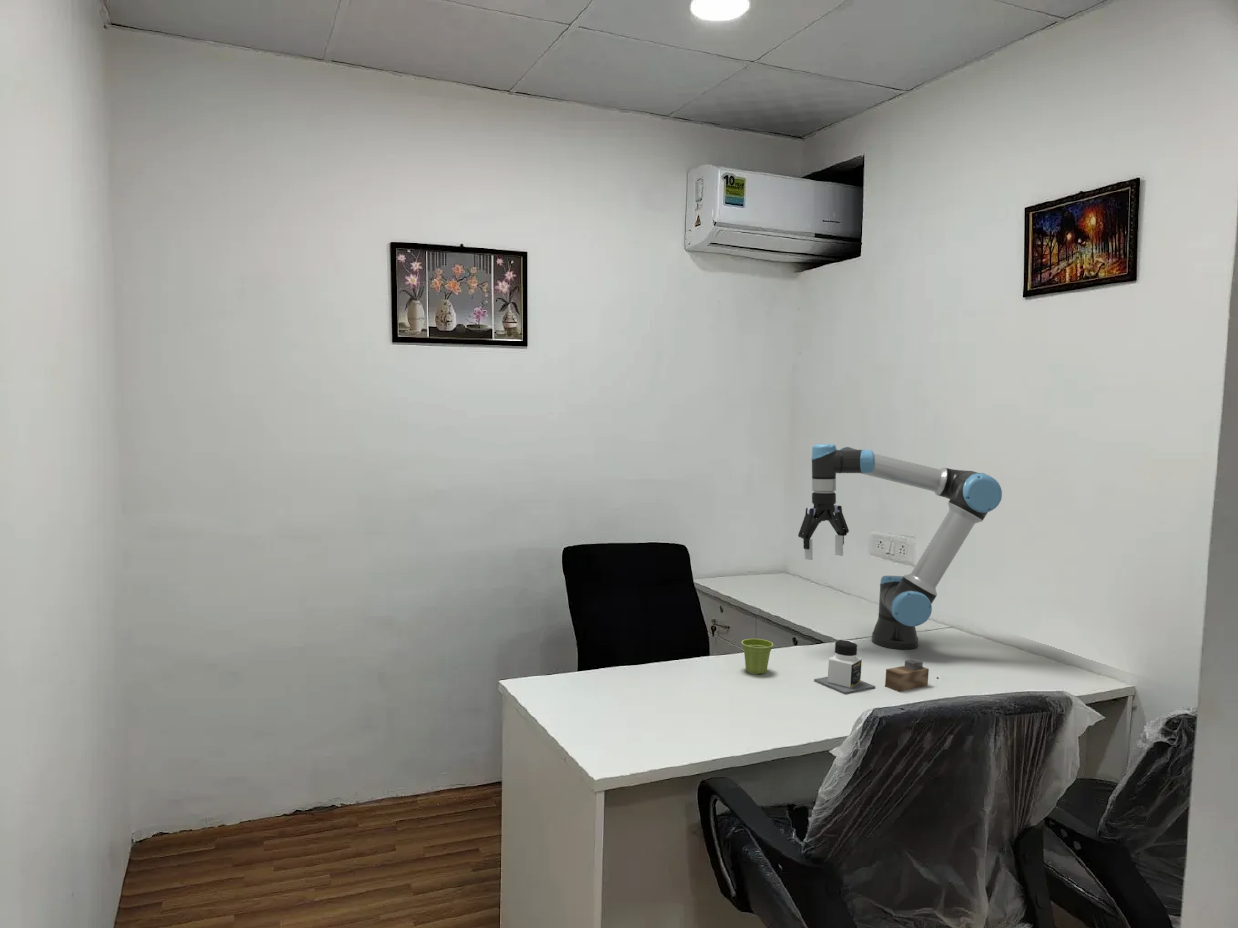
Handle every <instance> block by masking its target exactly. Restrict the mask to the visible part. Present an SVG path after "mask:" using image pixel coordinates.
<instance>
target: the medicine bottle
mask: <svg viewBox="0 0 1238 928" xmlns="http://www.w3.org/2000/svg"><path fill="white" fill-rule="evenodd" d="M834 643H835V644H834V655H833V656H831V657H829V658H828V663H827V664H828V669H827V677H828V683H832V684H836V685H840V686H844V687H848V688H852V687H853V686H855V685H856V684H858V683H860V680H861V678H862V676H861V675H862V658H861V657H857V654H858V645H857V643H856V642H854V641H852V640H848V639H839V640H836V641H835V642H834Z"/></svg>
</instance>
